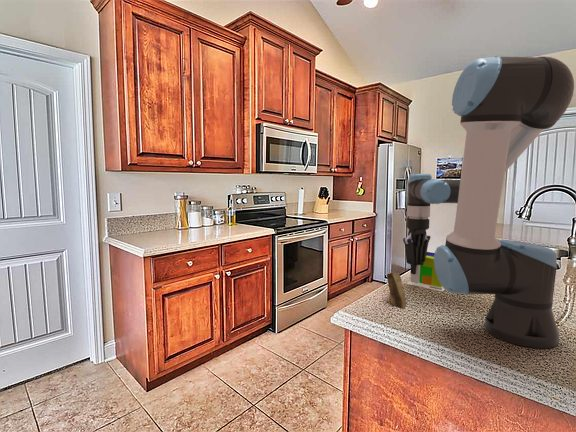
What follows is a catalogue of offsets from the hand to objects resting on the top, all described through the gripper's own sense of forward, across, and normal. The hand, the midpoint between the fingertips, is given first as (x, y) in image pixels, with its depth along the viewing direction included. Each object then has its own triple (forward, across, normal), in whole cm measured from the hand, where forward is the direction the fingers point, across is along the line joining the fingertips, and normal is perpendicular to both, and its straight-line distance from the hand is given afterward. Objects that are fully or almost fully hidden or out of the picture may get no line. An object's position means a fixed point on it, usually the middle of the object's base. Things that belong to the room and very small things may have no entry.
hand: (414, 282), depth 118 cm
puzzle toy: (+2, -10, 0) cm, 11 cm away
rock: (+2, +17, +6) cm, 18 cm away
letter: (+2, -10, 0) cm, 11 cm away
